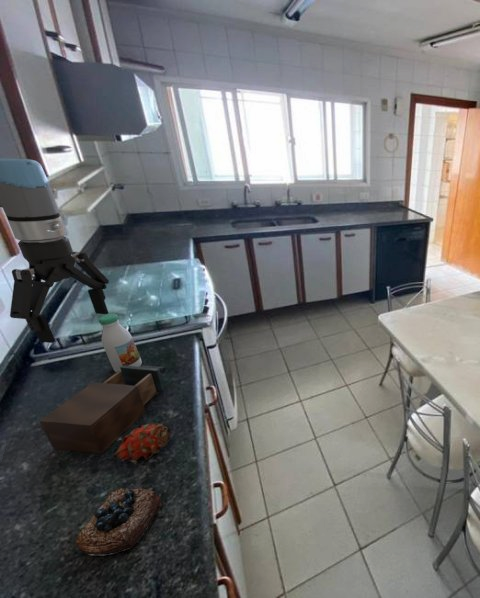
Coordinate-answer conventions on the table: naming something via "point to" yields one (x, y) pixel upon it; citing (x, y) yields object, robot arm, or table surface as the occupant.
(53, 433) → the cabinet
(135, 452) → the dragon fruit
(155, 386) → the drawer
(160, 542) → the table surface
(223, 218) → the table surface
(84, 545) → the pastry
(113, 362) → the milk bottle
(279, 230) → the table surface
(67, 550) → the table surface
